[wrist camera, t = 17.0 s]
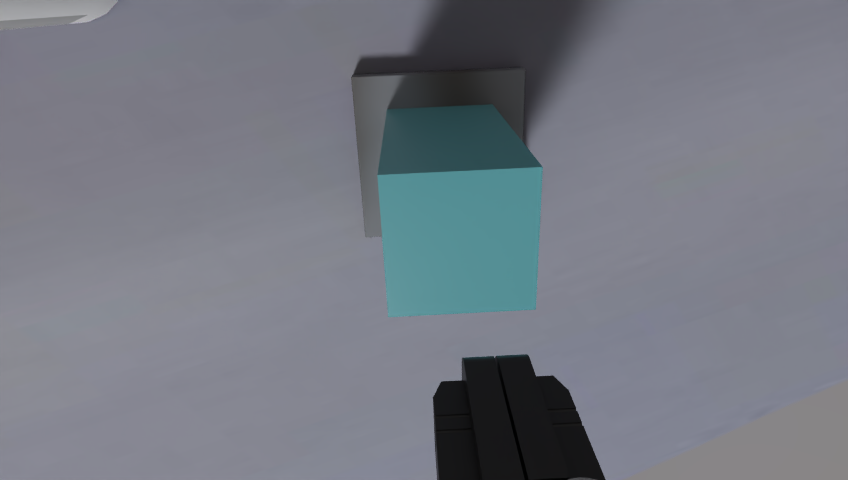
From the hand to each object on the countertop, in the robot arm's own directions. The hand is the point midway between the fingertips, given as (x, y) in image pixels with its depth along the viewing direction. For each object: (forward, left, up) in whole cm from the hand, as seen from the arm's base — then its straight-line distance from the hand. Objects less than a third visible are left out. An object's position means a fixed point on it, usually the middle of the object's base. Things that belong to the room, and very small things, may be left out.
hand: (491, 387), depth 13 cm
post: (0, 0, -20) cm, 20 cm away
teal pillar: (0, 0, -19) cm, 19 cm away
